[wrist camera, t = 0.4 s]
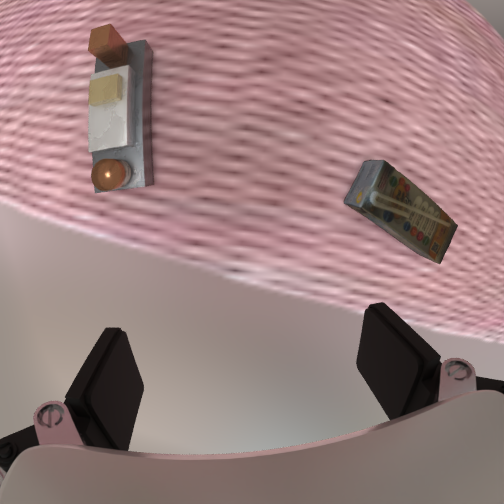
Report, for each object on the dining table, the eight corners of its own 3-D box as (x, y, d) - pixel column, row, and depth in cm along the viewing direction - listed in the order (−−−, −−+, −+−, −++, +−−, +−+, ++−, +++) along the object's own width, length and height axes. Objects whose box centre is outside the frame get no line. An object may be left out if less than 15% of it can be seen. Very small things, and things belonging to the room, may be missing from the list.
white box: (100, 80, 26) (85, 71, 22) (135, 72, 27) (124, 60, 22) (99, 153, 29) (82, 151, 25) (135, 146, 29) (122, 144, 25)
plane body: (108, 61, 29) (74, 32, 18) (152, 51, 29) (130, 15, 18) (108, 190, 35) (67, 199, 24) (153, 184, 35) (125, 191, 24)
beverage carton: (363, 157, 37) (387, 156, 31) (437, 217, 41) (462, 225, 35) (340, 202, 39) (361, 209, 33) (419, 256, 43) (442, 268, 37)
